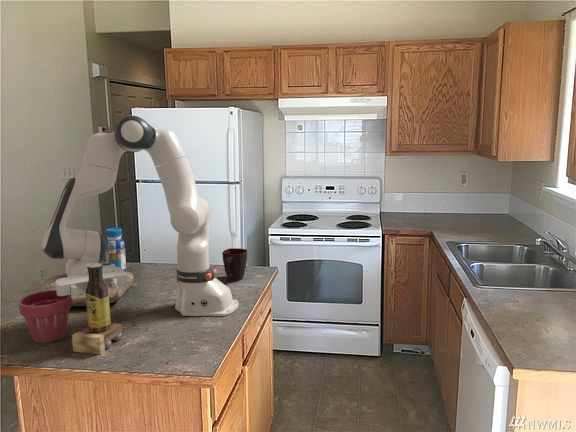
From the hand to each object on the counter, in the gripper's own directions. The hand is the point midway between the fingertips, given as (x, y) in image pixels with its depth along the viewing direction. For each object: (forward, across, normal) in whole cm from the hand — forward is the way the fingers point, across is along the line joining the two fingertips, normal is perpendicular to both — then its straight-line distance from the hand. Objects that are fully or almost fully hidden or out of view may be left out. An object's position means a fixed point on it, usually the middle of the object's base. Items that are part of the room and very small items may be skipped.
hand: (97, 289), depth 141 cm
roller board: (0, -1, +17) cm, 17 cm away
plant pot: (-15, -12, +17) cm, 26 cm away
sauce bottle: (-1, 0, +13) cm, 13 cm away
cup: (-32, +61, +17) cm, 71 cm away
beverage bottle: (-71, +23, +17) cm, 76 cm away
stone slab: (-44, +6, +18) cm, 48 cm away
